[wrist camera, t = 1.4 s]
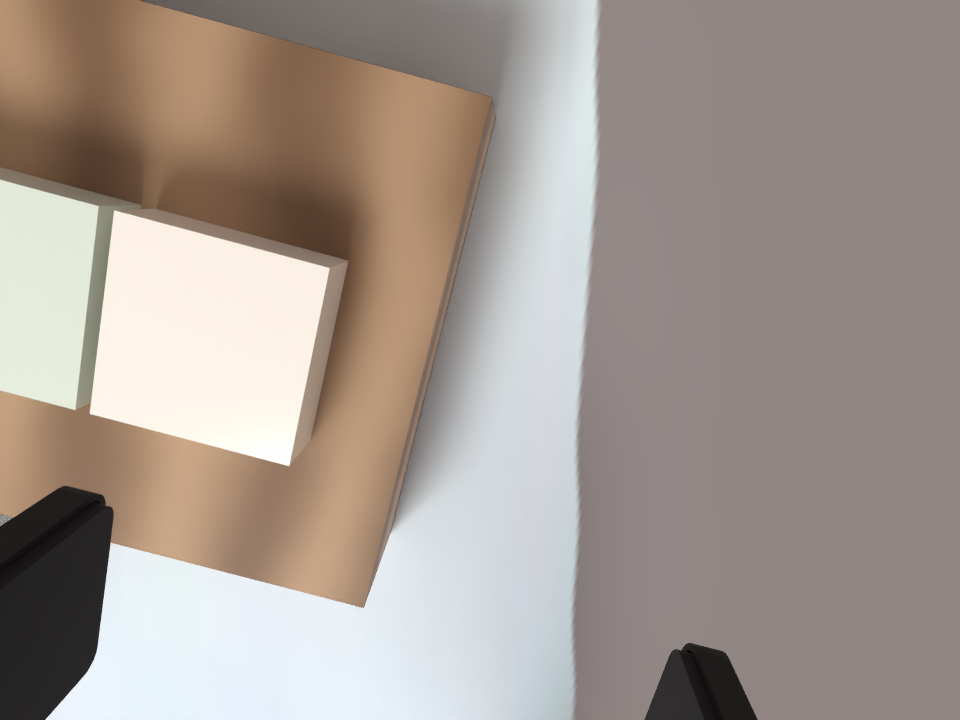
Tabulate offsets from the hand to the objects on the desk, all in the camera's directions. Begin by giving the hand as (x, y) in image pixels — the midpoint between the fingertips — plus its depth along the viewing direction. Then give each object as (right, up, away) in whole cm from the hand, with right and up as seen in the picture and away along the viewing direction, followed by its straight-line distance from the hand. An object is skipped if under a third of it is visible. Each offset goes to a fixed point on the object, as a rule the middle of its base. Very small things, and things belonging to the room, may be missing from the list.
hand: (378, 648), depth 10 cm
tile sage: (-15, +8, +14) cm, 21 cm away
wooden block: (-12, +8, +20) cm, 24 cm away
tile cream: (-7, +6, +14) cm, 17 cm away
